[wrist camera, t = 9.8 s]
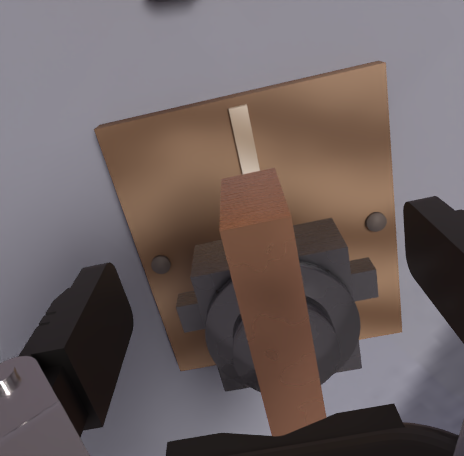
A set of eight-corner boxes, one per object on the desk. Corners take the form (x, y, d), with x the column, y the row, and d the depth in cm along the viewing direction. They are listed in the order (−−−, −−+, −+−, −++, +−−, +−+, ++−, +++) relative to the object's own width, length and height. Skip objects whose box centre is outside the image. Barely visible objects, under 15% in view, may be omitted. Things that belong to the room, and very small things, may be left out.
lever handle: (355, 112, 18) (458, 182, 10) (380, 385, 25) (455, 560, 17) (135, 161, 19) (66, 261, 11) (217, 413, 26) (212, 591, 18)
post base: (396, 321, 31) (456, 426, 23) (182, 359, 32) (166, 472, 24) (378, 61, 23) (459, 78, 15) (99, 124, 25) (37, 173, 16)
